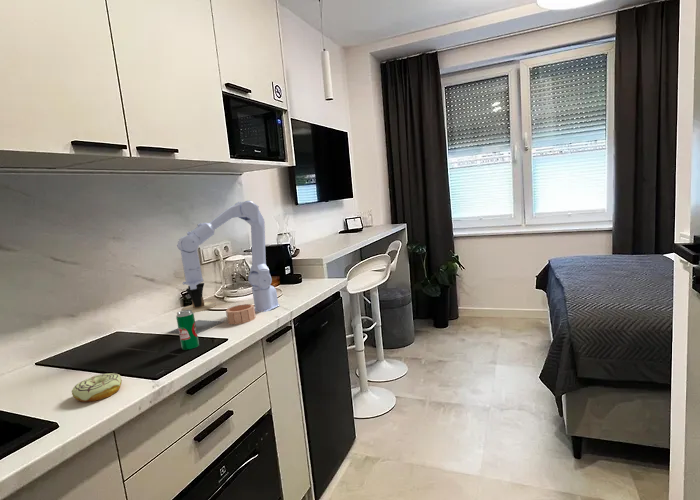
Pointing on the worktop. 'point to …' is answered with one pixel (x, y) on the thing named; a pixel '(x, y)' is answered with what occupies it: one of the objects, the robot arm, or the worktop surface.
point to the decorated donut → (97, 387)
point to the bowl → (240, 314)
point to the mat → (201, 325)
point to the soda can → (187, 329)
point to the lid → (203, 306)
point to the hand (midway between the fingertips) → (198, 304)
